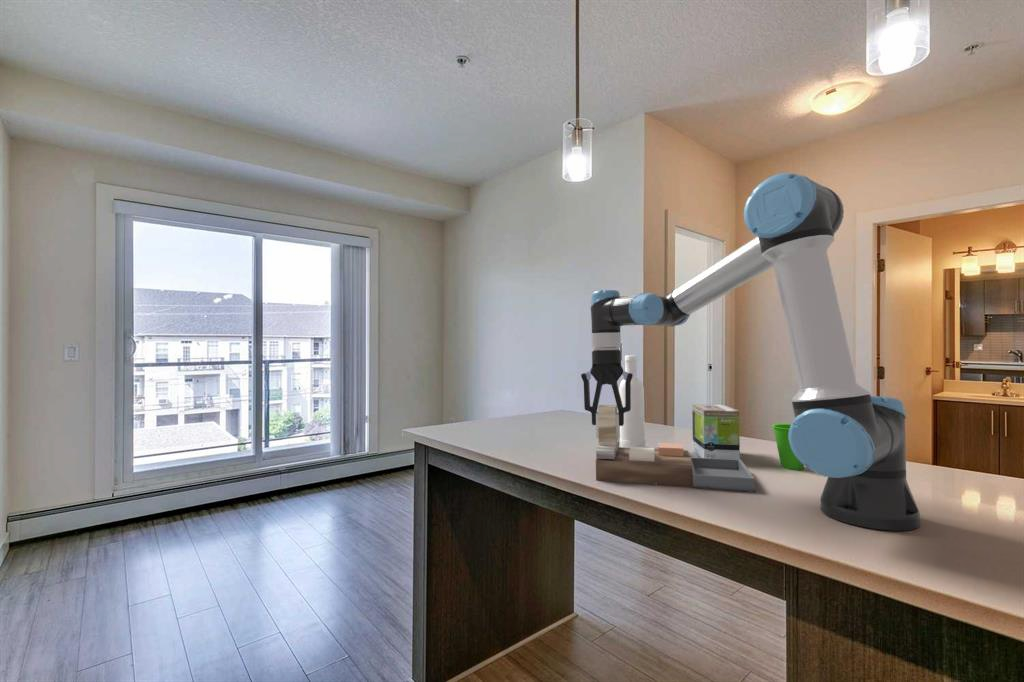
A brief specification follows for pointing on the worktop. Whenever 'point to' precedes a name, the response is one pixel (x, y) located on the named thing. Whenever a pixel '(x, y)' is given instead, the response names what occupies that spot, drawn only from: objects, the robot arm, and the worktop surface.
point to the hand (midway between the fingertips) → (608, 437)
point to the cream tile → (642, 454)
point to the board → (646, 469)
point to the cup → (786, 447)
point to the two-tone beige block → (607, 432)
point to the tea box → (716, 431)
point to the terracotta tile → (670, 449)
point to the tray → (721, 474)
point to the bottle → (633, 408)
